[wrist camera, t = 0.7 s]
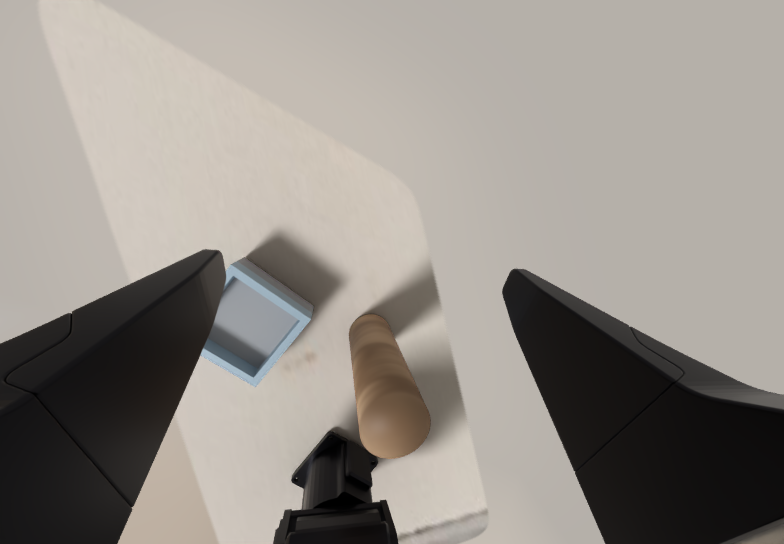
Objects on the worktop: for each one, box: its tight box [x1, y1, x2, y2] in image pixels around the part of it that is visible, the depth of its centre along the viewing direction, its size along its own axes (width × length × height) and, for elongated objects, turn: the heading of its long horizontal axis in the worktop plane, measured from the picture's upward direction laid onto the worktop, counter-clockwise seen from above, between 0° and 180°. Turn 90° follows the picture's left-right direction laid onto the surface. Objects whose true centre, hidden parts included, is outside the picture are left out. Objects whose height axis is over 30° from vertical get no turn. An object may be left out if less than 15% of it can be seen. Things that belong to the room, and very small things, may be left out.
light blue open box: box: [201, 257, 314, 387], centre depth 25 cm, size 7×7×4 cm
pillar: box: [349, 314, 431, 459], centre depth 23 cm, size 4×4×13 cm
